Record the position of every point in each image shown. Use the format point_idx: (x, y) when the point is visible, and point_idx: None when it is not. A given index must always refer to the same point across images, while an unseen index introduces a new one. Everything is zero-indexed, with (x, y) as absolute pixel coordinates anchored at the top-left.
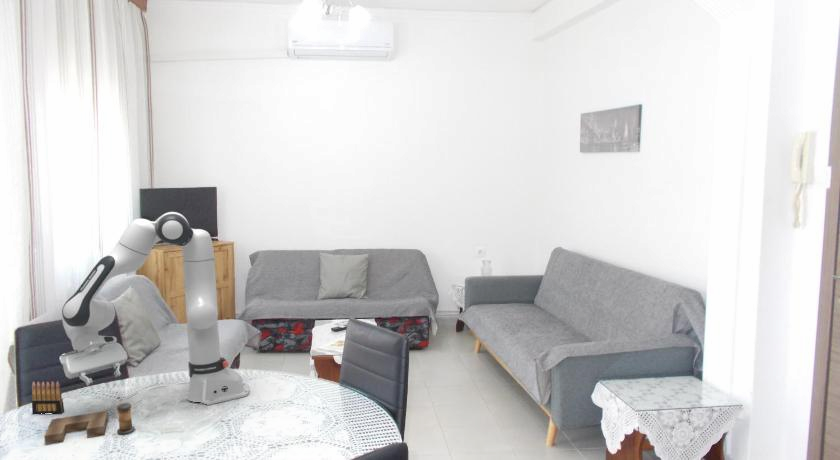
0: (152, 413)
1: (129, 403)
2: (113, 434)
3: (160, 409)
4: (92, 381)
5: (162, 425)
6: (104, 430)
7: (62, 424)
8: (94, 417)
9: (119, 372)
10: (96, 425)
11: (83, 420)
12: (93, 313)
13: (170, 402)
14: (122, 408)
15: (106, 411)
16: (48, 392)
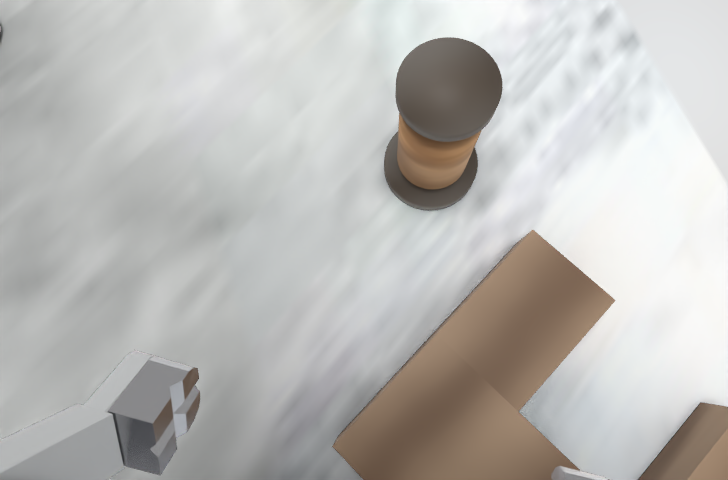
0: (179, 228)
1: (398, 79)
2: (487, 201)
3: (115, 231)
4: (568, 473)
5: (295, 49)
6: (506, 255)
7: None
8: (459, 429)
9: (125, 368)
10: (546, 287)
11: (531, 462)
12: None
13: (5, 259)
14: (488, 57)
15: (345, 440)
16: None
